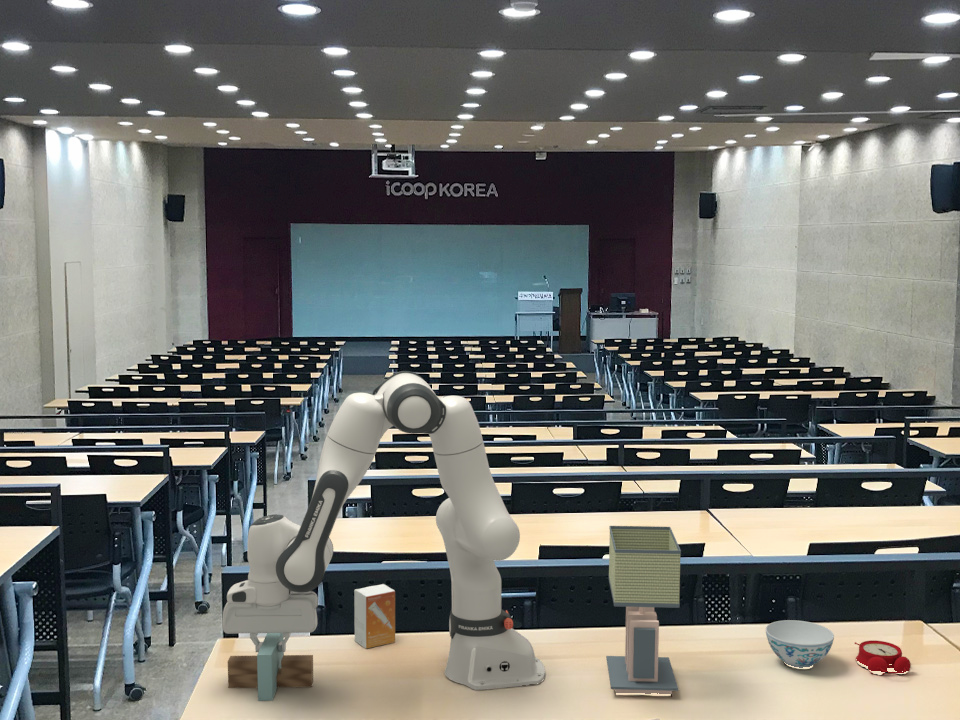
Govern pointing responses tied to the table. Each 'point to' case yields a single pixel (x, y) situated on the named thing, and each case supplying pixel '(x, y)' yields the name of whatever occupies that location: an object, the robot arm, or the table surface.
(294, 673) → the walnut notched block
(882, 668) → the alarm clock
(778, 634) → the chinaware
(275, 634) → the teal plate
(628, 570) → the desk lamp
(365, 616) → the small box
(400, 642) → the table surface
